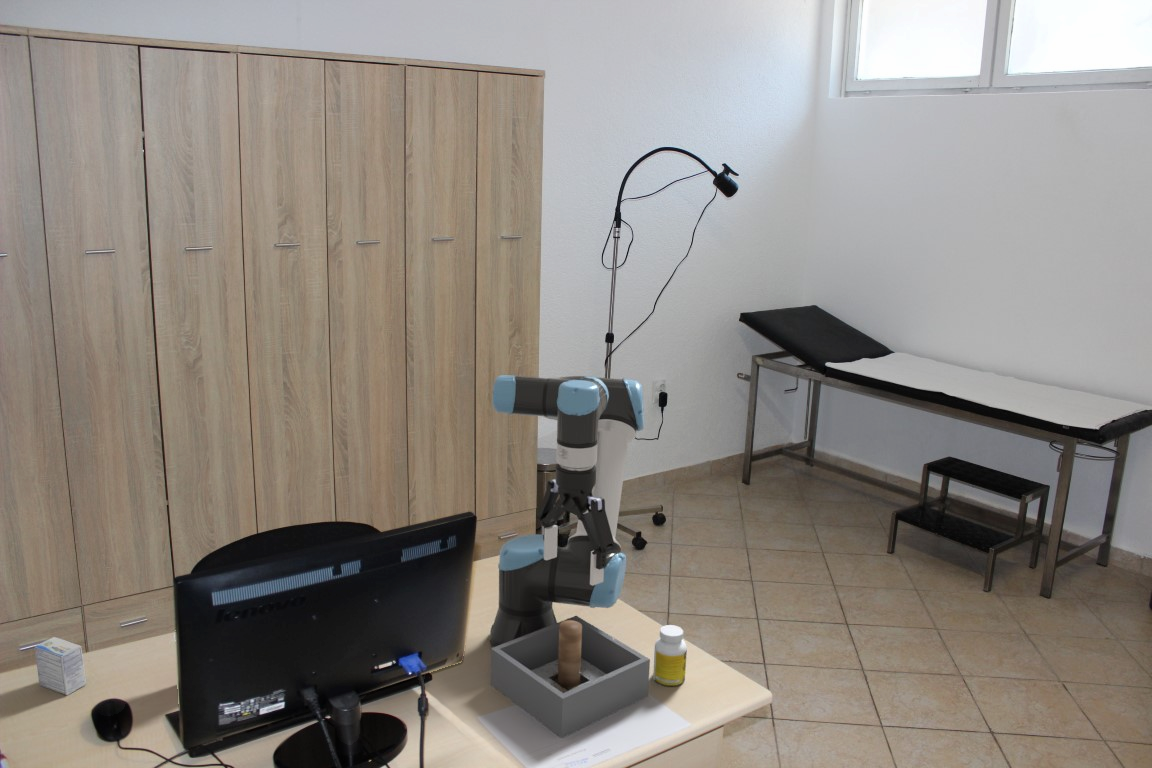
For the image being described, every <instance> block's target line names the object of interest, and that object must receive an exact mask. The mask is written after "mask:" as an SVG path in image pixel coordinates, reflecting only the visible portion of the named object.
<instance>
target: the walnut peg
mask: <svg viewBox="0 0 1152 768" xmlns="http://www.w3.org/2000/svg"><path fill="white" fill-rule="evenodd" d="M562 621H563V622H561V621H560V622H561V623H560V625H559V656H558V684H559V685H560V686H562V687H563V688H564V689H566V690H567V691H568V690H570V689H572V688H574V687H577V686H579V685H580V671H581V643H582V624H581V623H579V622H577V621H573V620H568V621H564V620H562Z"/></svg>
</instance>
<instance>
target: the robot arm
mask: <svg viewBox="0 0 1152 768" xmlns="http://www.w3.org/2000/svg"><path fill="white" fill-rule="evenodd" d="M643 393H644V392H643V386H642V384H641V382H639V381H638V380H635V379H626V378H623V377H622V379H620V378H610V377H609V378H607V377H595V376H584V375H573V376H560V377H547V378H546V377H536V376H525V375H523V376H522V375H514V374H510V375H506V374H505V375H504V374H503V375H498V376H497V377H496V379H495V380H494V382H493V385H492V393H491V394H492V395H491V397H492V398H491V401H492V407H493V410H494V411H495V412H497V413H501V414H507V415H517V416H518V415H519V416H532V417H533V416H534V417H544V418H545V419H549V420H554V421H557V426H556V427H557V428H556V430H557V431H556V455H555V457H556V458H555V459H556V463H557V464H556V466H555V479H551V480H547V484H546V490H545V494H544V495H543V498H542V501H541V504H540V506H539V508H538V510H537V513H536V515H535V519H536V521H538V522H540V523H541V526H542V527H543V528H542V530H543V531H542V534H538V533H537V534H526V535H520V536H517V537H515V538H512V539H510V540H508V541H506V542H505V543H504V544H503V545H502V546H501V548H500V551H499V559H498V560H499V562H498V565H497V567H498V609H497V611H496V614H495V617H494V622H493V624H492V626H491V628H490V637H489V639H490V644H491V647H492V648H493V647H496V646H499V645H501V644H504V643H506V642H509V641H512V640H514V639H517V638H519V637H522V636H525V635H527V634H530V633H532V632H535V631H538V630H540V629H543V628H545V627H548V626H551V625H553V624H556V623H558V622H557V621H558V620H557V617H556V615H555V613H554V609H553V603H557V604H564V605H575V606H582V607H589V608H592V609H594V608H605V609H608V608H609V609H610V608H612V607H614V605H615V604H616V603H617V601H618V599H619V597H620V594H621V591H622V588H623V583H624V581H625V575H626V568H627V556H626V554H624V553H622V552H621V550H622V545H621V544H620V543H619V542H618V540H617V539H616V536H617V529H618V528H617V527H618V521H619V520H618V519H619V514H620V508H621V506H620V505H621V501H622V500H621V498H622V491H623V484H624V477H625V470H626V469H625V468H626V461H627V455H628V448H629V447H628V446H629V443H631V442H632V441H634V440H635V439H636V436H637V432H640V431H643V430H644V426H645V425H644V424H645V415H644V394H643ZM558 497H559V498H558ZM565 511H566V512H568V513H569V512H570V513H572V514H573V515H574V516H576V517H577V519H578V521H577V526H576V532H575V533H574V534H573V535H571V536H570V537H568V539H567V544H566V547H562V546H561V547H560V546H558V533H559V532H558V531H559V529H558V528H559V526H558V525H557V524H558V520H559V519H560V518H561V516H563V515H564V513H565Z"/></svg>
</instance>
